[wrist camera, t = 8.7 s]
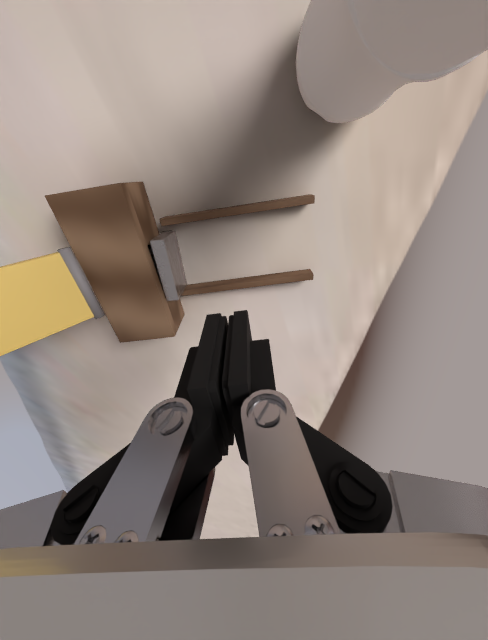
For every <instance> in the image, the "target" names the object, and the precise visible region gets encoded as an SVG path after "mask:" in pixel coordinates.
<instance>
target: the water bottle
mask: <svg viewBox="0 0 488 640" xmlns="http://www.w3.org/2000/svg"><path fill="white" fill-rule="evenodd" d="M486 50H488V0H311V2H310V4H309V7H308V9H307V12H306V14H305V17H304V20H303V23H302V26H301V30H300V35H299V41H298V46H297V54H296V73H297V82H298V86H299V90H300V93H301V96H302V98H303V100H304V102H305V104H306V106H307V107H309V108H310V109H311V110H312V111H314V112H316V113H317V114H319V115H320V116H321V117H322V118H324V119H325V120H326V121H327V122H332V123H346V122H351V121H354V120H356V119H359V118H362V117H364V116H366V115H368V114H370V113H372V112H373V111H375V110H376V109H378V108H379V107H380V106H382V105H383V104H384V103H385V102H386V101H387V100H388V99H389V98H390V96H391V95H392V94H393V93H394V91H396V90H397V89H398V88H400V87H402V86H403V85H405V84H408V83H412V82H428V81H432V80H436V79H438V78H441V77H443V76H445V75H447V74H449V73H451V72H453V71H455V70H457V69H459V68H461V67H462V66H464V65H466V64H467V63H469V62H471V61H472V60H473V59H475V58H476V57H477V56H479V55H480V54H482V53H483V52H484V51H486Z"/></svg>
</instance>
